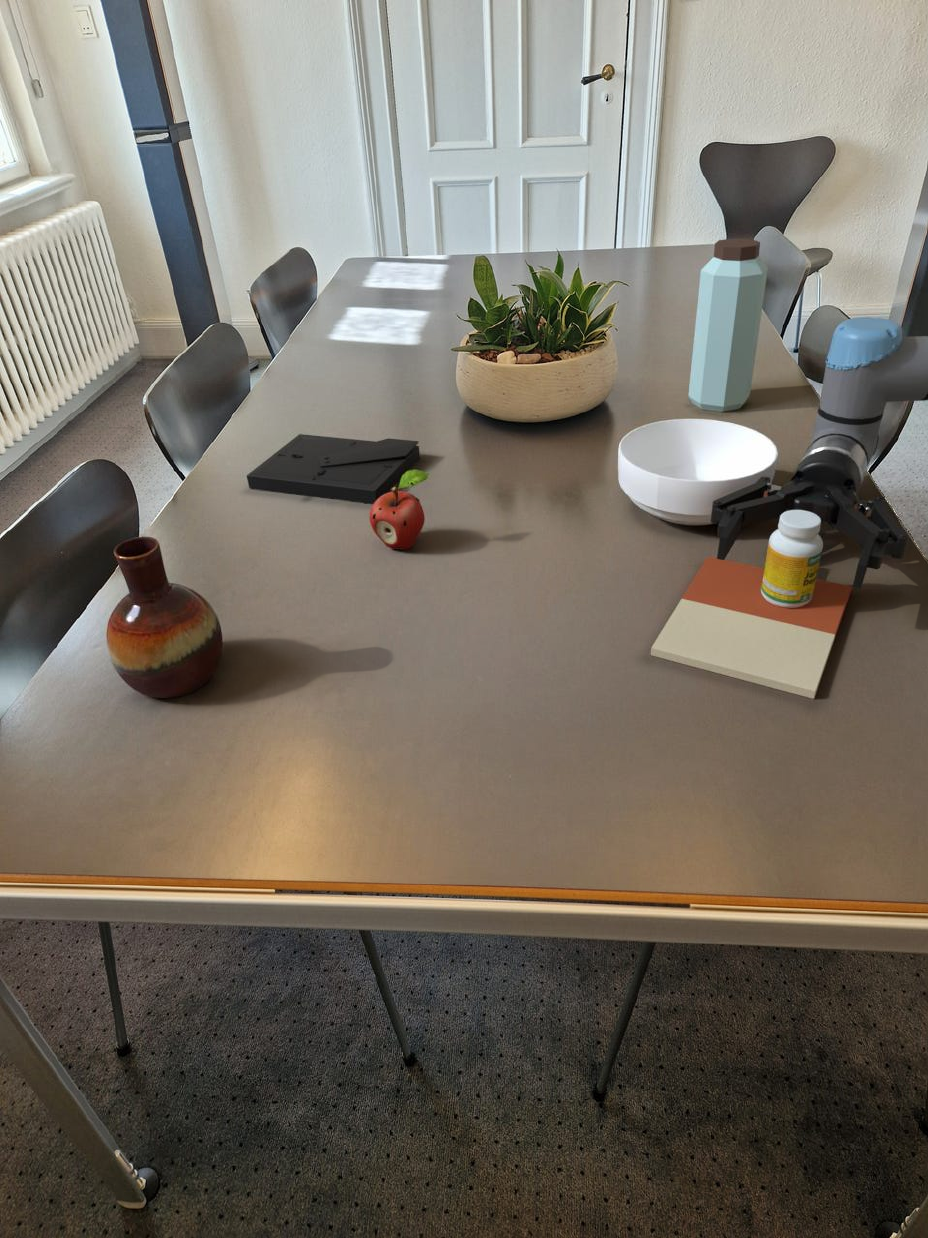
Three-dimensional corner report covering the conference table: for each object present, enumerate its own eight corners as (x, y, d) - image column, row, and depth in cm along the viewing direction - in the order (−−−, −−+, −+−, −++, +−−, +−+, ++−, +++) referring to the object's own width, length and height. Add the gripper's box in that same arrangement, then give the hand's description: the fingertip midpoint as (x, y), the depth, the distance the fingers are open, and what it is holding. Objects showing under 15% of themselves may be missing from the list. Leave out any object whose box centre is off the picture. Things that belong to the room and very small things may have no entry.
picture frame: (420, 458, 130) (301, 446, 137) (418, 441, 129) (298, 429, 135) (376, 504, 118) (249, 488, 125) (374, 485, 117) (245, 470, 123)
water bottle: (712, 387, 148) (730, 233, 134) (761, 401, 142) (785, 240, 127) (675, 403, 143) (689, 244, 129) (724, 418, 137) (745, 252, 122)
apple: (388, 564, 105) (379, 491, 99) (365, 542, 110) (355, 471, 104) (442, 546, 108) (436, 473, 102) (417, 525, 113) (410, 455, 107)
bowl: (792, 497, 113) (803, 437, 109) (727, 560, 101) (736, 496, 96) (660, 463, 124) (665, 408, 119) (587, 517, 112) (589, 457, 107)
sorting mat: (850, 593, 94) (852, 586, 94) (813, 699, 80) (815, 691, 80) (707, 563, 101) (707, 555, 100) (650, 655, 87) (651, 647, 86)
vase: (176, 722, 82) (132, 589, 74) (98, 691, 87) (48, 562, 78) (252, 659, 90) (220, 531, 81) (176, 633, 95) (139, 510, 86)
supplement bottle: (767, 578, 96) (781, 501, 90) (817, 590, 93) (834, 512, 88) (753, 602, 92) (766, 523, 87) (804, 614, 90) (821, 535, 84)
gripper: (934, 526, 99) (912, 621, 84) (720, 488, 109) (666, 567, 94) (952, 466, 94) (932, 555, 79) (727, 433, 105) (672, 506, 90)
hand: (788, 562), depth 87 cm, fingers open, 13 cm apart
